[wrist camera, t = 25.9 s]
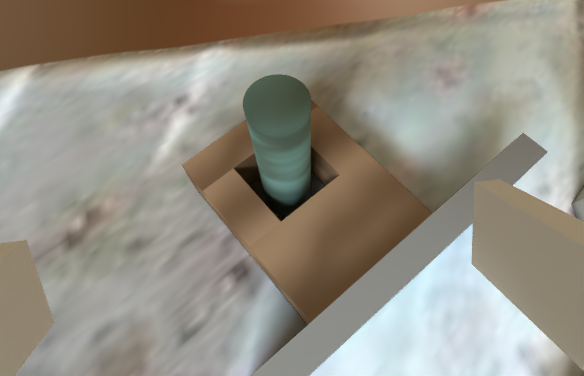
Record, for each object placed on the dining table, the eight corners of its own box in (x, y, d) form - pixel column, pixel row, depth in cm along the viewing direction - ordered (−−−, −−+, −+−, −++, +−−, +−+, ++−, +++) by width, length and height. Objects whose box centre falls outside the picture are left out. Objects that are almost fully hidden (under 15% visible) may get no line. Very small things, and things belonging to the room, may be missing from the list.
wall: (242, 398, 31) (218, 405, 22) (475, 187, 37) (522, 132, 29) (259, 421, 30) (240, 438, 22) (494, 203, 36) (547, 151, 28)
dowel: (257, 194, 37) (229, 99, 25) (291, 167, 38) (281, 63, 26) (285, 226, 36) (271, 142, 23) (319, 198, 37) (324, 103, 24)
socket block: (195, 188, 38) (181, 165, 34) (296, 114, 41) (295, 85, 36) (311, 330, 32) (312, 323, 28) (419, 233, 35) (433, 214, 31)
